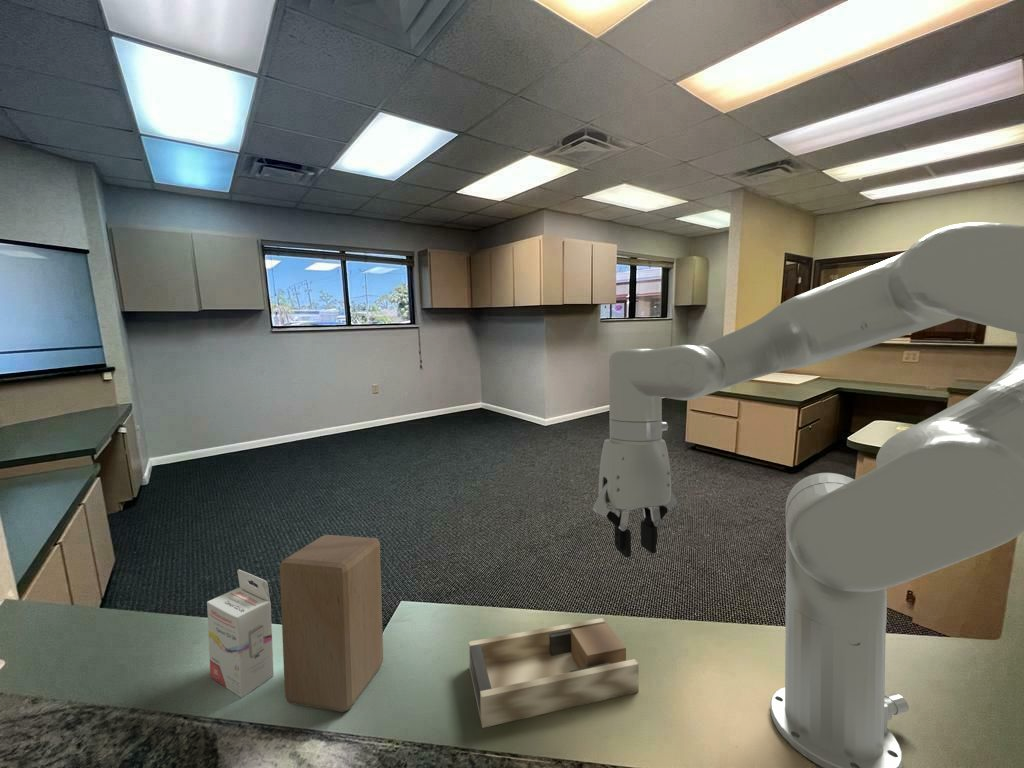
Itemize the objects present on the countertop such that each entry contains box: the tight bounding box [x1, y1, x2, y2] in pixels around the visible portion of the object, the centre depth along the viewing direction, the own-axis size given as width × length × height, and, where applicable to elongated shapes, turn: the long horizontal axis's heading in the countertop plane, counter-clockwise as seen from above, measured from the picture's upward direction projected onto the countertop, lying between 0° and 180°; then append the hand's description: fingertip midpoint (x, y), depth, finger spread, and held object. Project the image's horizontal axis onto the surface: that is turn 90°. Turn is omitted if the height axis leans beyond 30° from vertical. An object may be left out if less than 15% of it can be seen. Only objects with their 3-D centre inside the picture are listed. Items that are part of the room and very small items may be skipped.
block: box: [279, 534, 384, 713], centre depth 60 cm, size 10×10×20 cm
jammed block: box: [571, 622, 627, 669], centre depth 62 cm, size 6×6×4 cm
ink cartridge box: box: [206, 569, 275, 698], centre depth 61 cm, size 9×5×15 cm, turn 62°
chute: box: [468, 617, 640, 729], centre depth 60 cm, size 22×11×4 cm, turn 104°
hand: (636, 550), depth 63 cm, fingers open, 3 cm apart
